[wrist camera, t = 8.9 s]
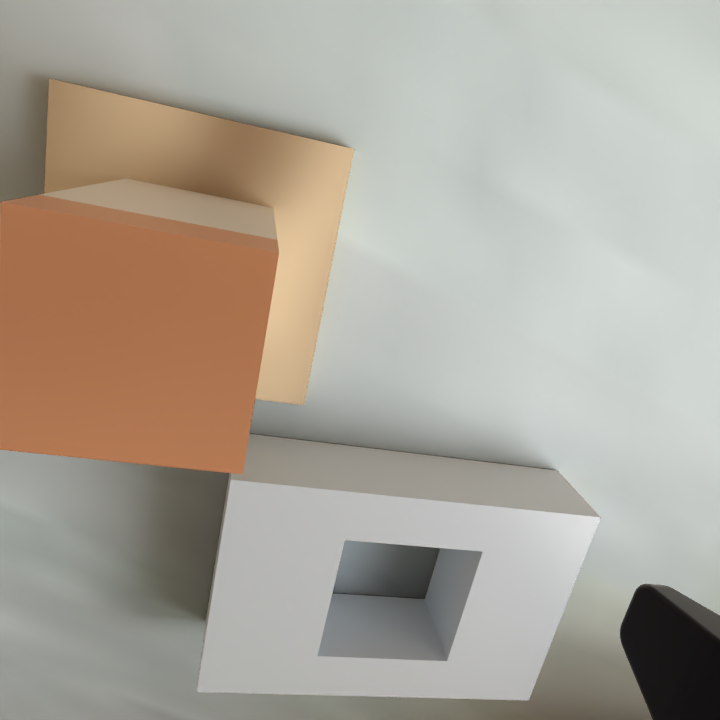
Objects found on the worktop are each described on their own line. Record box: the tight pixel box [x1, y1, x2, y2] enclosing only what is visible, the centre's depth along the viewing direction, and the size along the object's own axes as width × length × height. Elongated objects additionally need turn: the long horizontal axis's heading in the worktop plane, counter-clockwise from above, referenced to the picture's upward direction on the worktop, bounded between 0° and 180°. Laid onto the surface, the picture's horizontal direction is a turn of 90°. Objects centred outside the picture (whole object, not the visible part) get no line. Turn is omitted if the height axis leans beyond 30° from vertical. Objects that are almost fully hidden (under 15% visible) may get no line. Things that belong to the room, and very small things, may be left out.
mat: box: [44, 79, 354, 405], centre depth 17 cm, size 8×8×1 cm
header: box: [197, 434, 601, 700], centre depth 20 cm, size 12×8×3 cm, turn 78°
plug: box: [0, 178, 279, 474], centre depth 13 cm, size 4×4×8 cm
